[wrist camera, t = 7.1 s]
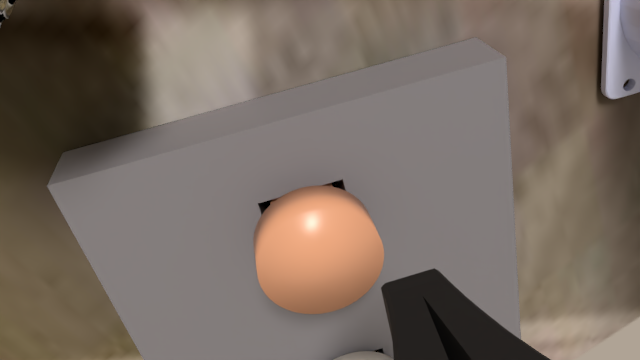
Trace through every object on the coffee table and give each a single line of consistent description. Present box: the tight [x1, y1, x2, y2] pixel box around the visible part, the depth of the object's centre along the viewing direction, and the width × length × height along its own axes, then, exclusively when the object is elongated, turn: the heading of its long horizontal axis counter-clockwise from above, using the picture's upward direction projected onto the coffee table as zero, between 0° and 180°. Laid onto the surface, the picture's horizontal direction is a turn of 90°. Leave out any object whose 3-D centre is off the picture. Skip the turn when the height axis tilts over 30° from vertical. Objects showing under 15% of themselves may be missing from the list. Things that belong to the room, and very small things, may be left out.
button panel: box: [47, 37, 521, 360], centre depth 25 cm, size 16×18×2 cm
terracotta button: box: [253, 183, 384, 314], centre depth 21 cm, size 4×4×4 cm
